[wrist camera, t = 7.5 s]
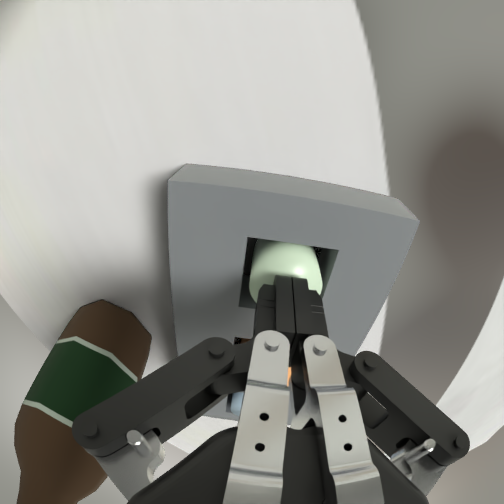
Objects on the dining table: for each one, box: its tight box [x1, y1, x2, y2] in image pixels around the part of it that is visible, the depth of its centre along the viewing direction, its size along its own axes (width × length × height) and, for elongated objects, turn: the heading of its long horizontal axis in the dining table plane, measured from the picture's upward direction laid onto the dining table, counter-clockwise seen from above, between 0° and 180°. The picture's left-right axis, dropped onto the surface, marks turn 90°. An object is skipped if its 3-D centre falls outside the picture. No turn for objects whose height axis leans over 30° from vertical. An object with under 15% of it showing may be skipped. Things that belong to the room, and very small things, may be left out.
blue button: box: [231, 392, 244, 416], centre depth 22 cm, size 4×4×3 cm
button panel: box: [168, 164, 420, 425], centre depth 19 cm, size 22×12×3 cm, turn 173°
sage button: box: [249, 238, 322, 303], centre depth 15 cm, size 4×4×3 cm
